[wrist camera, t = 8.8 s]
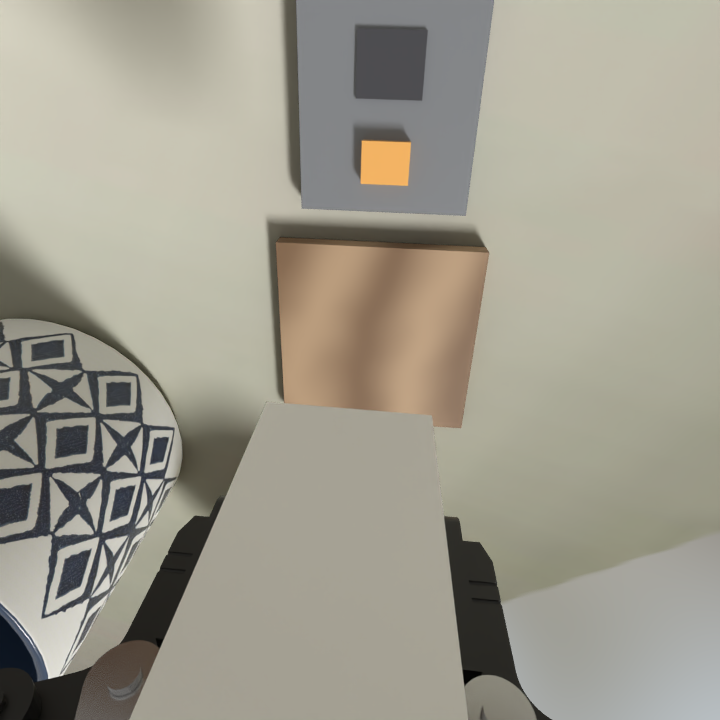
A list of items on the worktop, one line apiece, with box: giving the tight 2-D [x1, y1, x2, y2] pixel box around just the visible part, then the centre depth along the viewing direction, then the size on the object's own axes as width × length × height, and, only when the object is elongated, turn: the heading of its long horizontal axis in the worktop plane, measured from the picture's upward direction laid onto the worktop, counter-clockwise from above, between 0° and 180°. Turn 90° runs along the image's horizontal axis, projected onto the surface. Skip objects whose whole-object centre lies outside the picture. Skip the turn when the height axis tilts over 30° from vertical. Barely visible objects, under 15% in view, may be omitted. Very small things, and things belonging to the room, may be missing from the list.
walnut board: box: [276, 237, 489, 428], centre depth 30 cm, size 12×12×1 cm
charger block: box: [129, 402, 468, 720], centre depth 10 cm, size 4×4×9 cm
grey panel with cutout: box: [296, 0, 494, 216], centre depth 22 cm, size 9×18×2 cm, turn 178°
